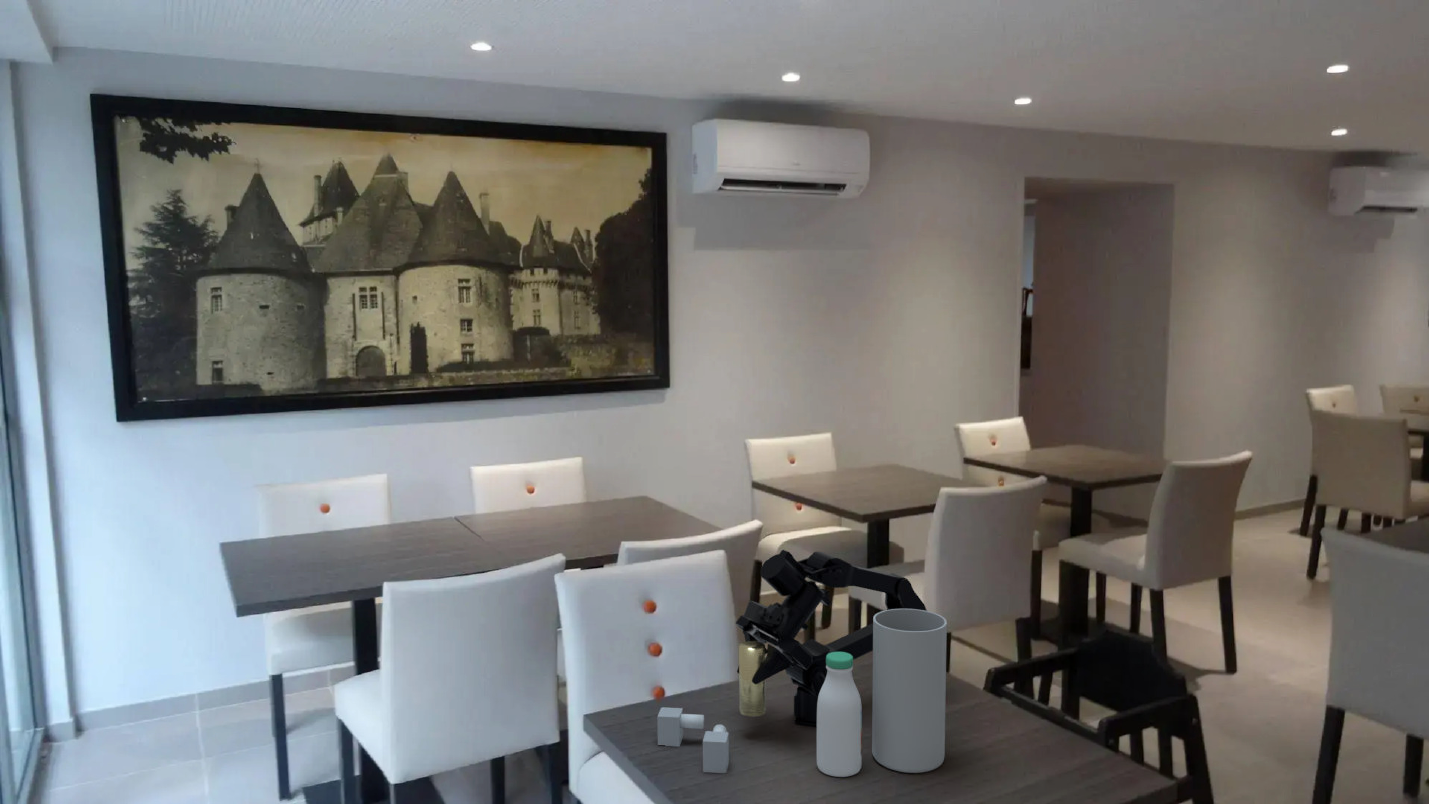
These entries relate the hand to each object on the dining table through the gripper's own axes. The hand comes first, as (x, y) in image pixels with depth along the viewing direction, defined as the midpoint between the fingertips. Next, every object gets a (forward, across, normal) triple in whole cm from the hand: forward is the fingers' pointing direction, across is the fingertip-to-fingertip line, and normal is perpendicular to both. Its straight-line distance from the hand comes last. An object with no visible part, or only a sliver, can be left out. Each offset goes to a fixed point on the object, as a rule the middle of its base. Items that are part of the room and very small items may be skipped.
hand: (746, 678), depth 179 cm
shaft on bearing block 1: (+16, -5, 0) cm, 16 cm away
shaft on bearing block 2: (+15, +6, +1) cm, 16 cm away
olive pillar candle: (+4, 0, +6) cm, 7 cm away
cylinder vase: (-6, +21, +22) cm, 32 cm away
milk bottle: (+3, +18, +14) cm, 23 cm away
